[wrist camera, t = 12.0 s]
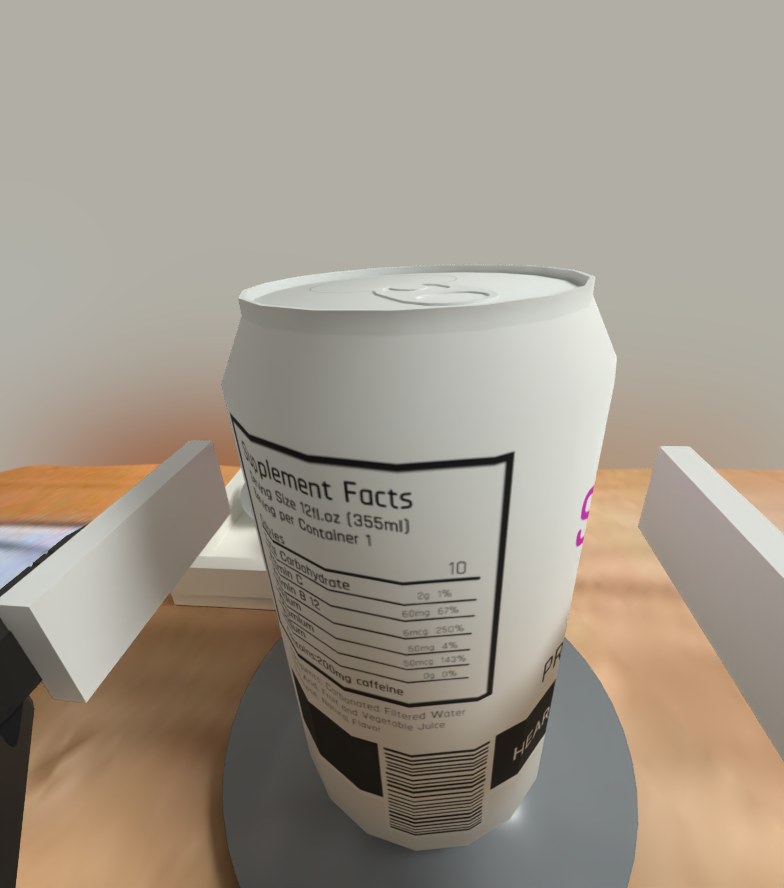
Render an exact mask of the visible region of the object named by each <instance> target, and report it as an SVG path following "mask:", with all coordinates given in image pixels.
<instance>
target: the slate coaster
mask: <svg viewBox="0 0 784 888" xmlns="http://www.w3.org/2000/svg"><path fill="white" fill-rule="evenodd" d="M223 815H224V823H225V830H226V838H227V845H228V849H229V852H230V856H231V860H232V863H233V867H234V870H235V874H236V878H237V881H238V883H239V885H240V887H241V888H627V886H628V882H629V878H630V874H631V870H632V866H633V863H634V858H635V848H636V839H637V829H638V808H637V788H636V782H635V776H634V769H633V763H632V758H631V754H630V751H629V748H628V744H627V741H626V737H625V734H624V730H623V728H622V725H621V723H620V721H619V718H618V716H617V713H616V711H615V709H614V706H613V704H612V702H611V700H610V698H609V697H608V695H607V693H606V691H605V689H604V688H603V686H602V684H601V682H600V680H599V679H598V678H597V676H596V675H595V673H594V672H593V670H592V669H591V668H590V666H589V665H588V663H587V662H586V660H585V659H584V658H583V657H582V656H581V654H580V653H579V652H578V651H577V650H576V649H575V648H574V646H573V645H572V644H571V643H570V642H569V641H568V640H567V639H566V638H565V637H564V641H563V646H562V651H561V656H560V661H559V666H558V671H557V677H556V682H555V687H554V692H553V697H552V702H551V707H550V712H549V717H548V722H547V727H546V733H545V738H544V743H543V748H542V753H541V758H540V763H539V768H538V773H537V778H536V780H535V781H534V783H533V784H532V786H531V787H530V789H529V791H528V792H527V794H526V795H525V797H524V798H523V800H522V802H521V803H520V805H519V806H518V808H517V809H516V811H515V812H514V814H513V816H512V817H511V819H509V820H508V821H506V822H504V823H503V824H501V825H500V826H498V827H496V828H495V829H493V830H492V831H490V832H488V833H487V834H485V835H484V836H482V837H481V838H479V839H477V840H476V841H474V842H473V843H471V844H469V845H468V846H458V847H449V848H439V849H430V850H420V851H415V850H412V849H409V848H406V847H404V846H401V845H398V844H395V843H392V842H389V841H387V840H384V839H381V838H378V837H375V836H373V835H370V834H367V833H366V832H365V831H364V830H363V829H362V828H361V827H359V826H358V825H357V824H356V823H355V822H354V821H353V820H352V819H351V818H350V817H349V816H348V815H347V814H346V813H345V812H344V811H343V810H342V809H341V808H339V807H338V806H337V805H336V804H335V803H334V802H333V801H332V800H331V799H330V797H329V795H328V793H327V791H326V788H325V786H324V784H323V782H322V780H321V777H320V775H319V773H318V771H317V769H316V766H315V764H314V762H313V760H312V758H311V755H310V751H309V747H308V743H307V738H306V734H305V730H304V726H303V722H302V718H301V713H300V709H299V705H298V701H297V697H296V693H295V689H294V684H293V680H292V676H291V672H290V668H289V664H288V660H287V655H286V651H285V647H284V643H283V639H282V637H281V638H280V639H279V640H278V642H277V643H276V644H275V645H274V647H273V648H272V649H271V650H270V652H269V653H268V654H267V655H266V657H265V658H264V660H263V661H262V663H261V664H260V666H259V667H258V669H257V671H256V672H255V674H254V675H253V677H252V679H251V681H250V683H249V685H248V687H247V689H246V691H245V693H244V695H243V697H242V699H241V702H240V705H239V707H238V710H237V713H236V716H235V719H234V721H233V724H232V728H231V733H230V737H229V741H228V745H227V750H226V757H225V766H224V774H223Z"/></svg>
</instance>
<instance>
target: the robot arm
mask: <svg viewBox="0 0 784 888" xmlns="http://www.w3.org/2000/svg"><path fill="white" fill-rule="evenodd" d="M230 514H231V508H230V504H229V501H228V497H227V493H226V489H225V485H224V482H223V478H222V474H221V470H220V467H219V463H218V459H217V455H216V452H215V448H214V444H213V441H208V440H203V441H202V440H200V441H199V440H190V441H189V442H187V443H186V444H185V445H184V446H183V447H181V448H180V449H179V450H178V451H176V452H175V453H174V454H173V455H172V456H170V457H169V458H168V459H167V460H166V461H165V462H163V463H162V464H161V465H159V466H158V467H157V468H156V469H155V470H153V471H152V472H151V473H150V474H149V475H147V476H146V477H145V478H144V479H143V480H141V481H140V482H139V483H138V484H137V485H135V486H134V487H133V488H132V489H130V490H129V491H128V492H127V493H126V494H124V495H123V496H122V497H121V498H120V499H118V500H117V501H116V502H115V503H114V504H112V505H111V506H110V507H109V508H107V509H106V510H105V511H104V512H103V513H101V514H100V515H99V516H98V517H97V518H95V519H94V520H93V521H92V522H91V523H89V524H87V525H86V526H84V527H82V528H80V529H78V530H76V531H75V532H73V533H71V534H69V535H67V536H66V537H64V538H63V539H62V540H61V541H60V542H58V543H57V544H56V545H55V546H53V547H52V548H51V549H50V550H48V553H47V554H43V555H42V556H41V557H40V558H39V559H37V560H36V561H35V562H34V563H33V565H32V567H27V568H26V569H25V570H24V571H22V572H21V573H20V574H19V575H18V576H16V577H15V578H14V579H13V580H11V581H10V582H9V583H8V584H6V585H5V586H4V587H3V588H1V589H0V888H15V887H16V877H17V868H18V858H19V849H20V839H21V830H22V820H23V811H24V801H25V792H26V782H27V773H28V763H29V754H30V744H31V735H32V725H33V716H34V705H33V701H32V699H31V698H30V696H29V694H30V693H31V692H32V691H33V690H34V689H35V688H36V687H37V686H38V684H39V683H40V682H41V681H42V682H43V684H44V685H45V687H46V689H47V690H48V692H49V693H50V695H51V696H52V698H53V699H55V700H65V701H75V702H84V703H87V701H88V700H89V699H90V697H91V696H92V695H93V693H94V692H95V691H96V689H97V688H98V687H99V686H100V684H101V683H102V682H103V680H104V679H105V678H106V676H107V675H108V674H109V672H110V671H111V670H112V668H113V667H114V666H115V665H116V663H117V662H118V661H119V659H120V658H121V657H122V655H123V654H124V653H125V651H126V650H127V649H128V647H129V646H130V645H131V644H132V642H133V641H134V640H135V638H136V637H137V636H138V634H139V633H140V632H141V630H142V629H143V628H144V626H145V625H146V624H147V623H148V621H149V620H150V619H151V617H152V616H153V615H154V613H155V612H156V611H157V609H158V608H159V607H160V605H161V604H162V603H163V602H164V600H165V599H166V598H167V596H168V595H169V594H170V592H171V591H172V590H173V588H174V587H175V586H176V584H177V583H178V582H179V581H180V579H181V578H182V577H183V575H184V574H185V573H186V571H187V570H188V569H189V567H190V566H191V565H192V563H193V562H194V561H195V560H196V558H197V557H198V556H199V554H200V553H201V552H202V550H203V549H204V548H205V546H206V545H207V544H208V542H209V541H210V540H211V539H212V537H213V536H214V535H215V533H216V532H217V531H218V529H219V528H220V527H221V525H222V524H223V523H224V522H225V520H226V519H227V518H228V516H229V515H230ZM638 527H639V529H640V531H641V532H642V534H643V535H644V537H645V539H646V540H647V542H648V543H649V545H650V547H651V548H652V550H653V552H654V553H655V555H656V556H657V558H658V560H659V561H660V563H661V564H662V566H663V568H664V569H665V571H666V573H667V574H668V576H669V577H670V579H671V581H672V582H673V584H674V585H675V587H676V589H677V590H678V592H679V594H680V595H681V597H682V598H683V600H684V602H685V603H686V605H687V606H688V608H689V610H690V611H691V613H692V614H693V616H694V618H695V619H696V621H697V623H698V624H699V626H700V627H701V629H702V631H703V632H704V634H705V635H706V637H707V639H708V640H709V642H710V644H711V645H712V647H713V648H714V650H715V652H716V653H717V655H718V656H719V658H720V660H721V661H722V663H723V665H724V666H725V668H726V669H727V671H728V673H729V674H730V676H731V677H732V679H733V681H734V682H735V684H736V685H737V687H738V689H739V690H740V692H741V694H742V695H743V697H744V698H745V700H746V702H747V703H748V705H749V706H750V708H751V710H752V711H753V713H754V715H755V716H756V718H757V719H758V721H759V723H760V724H761V726H762V727H763V729H764V731H765V732H766V734H767V736H768V737H769V739H770V740H771V742H772V744H773V745H774V747H775V748H776V750H777V752H778V753H779V755H780V756H781V758H782V760H783V761H784V534H783V533H782V532H781V531H780V530H779V529H778V528H777V527H775V526H774V525H773V524H772V523H771V522H770V521H769V520H768V519H767V518H766V517H765V516H764V515H763V514H761V513H760V512H759V511H758V510H757V509H756V508H755V507H754V506H753V505H752V504H751V503H750V502H749V501H747V500H746V499H745V498H744V497H743V496H742V495H741V494H740V493H739V492H738V491H737V490H736V489H735V488H734V487H732V486H731V485H730V484H729V483H728V482H727V481H726V480H725V479H724V478H723V477H722V476H721V475H720V474H718V473H717V472H716V471H715V470H714V469H713V468H712V467H711V466H710V465H709V464H708V463H706V461H704V460H703V459H702V458H701V457H700V456H699V455H698V454H697V453H696V452H695V451H694V450H693V449H692V448H691V447H687V446H659V449H658V453H657V457H656V460H655V464H654V468H653V472H652V476H651V479H650V483H649V487H648V491H647V495H646V498H645V502H644V506H643V510H642V513H641V517H640V521H639V525H638Z"/></svg>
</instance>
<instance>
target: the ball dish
mask: <svg viewBox="0 0 784 888" xmlns="http://www.w3.org/2000/svg"><path fill="white" fill-rule="evenodd" d="M244 483H245V481H244V477H243V473H242V469H240V470H239V471H238V473H237V474H236V475H235V476H234V477H233V479H232V480H231V481H230V482H229V483H228V485H227V486H226V487H225V489H226V493H227V497H228V501H229V504H230V508H231V514H230V515H229V516H228V518H227V519H226V520H225V522H224V523H223V524H222V525H221V527H220V528H219V529H218V531H217V532H216V533H215V535H214V536H213V537H212V539H211V540H210V541H209V542H208V544H207V545H206V546H205V548H204V549H203V550H202V552H201V553H200V554H199V556H198V557H197V558H196V560H195V561H194V562H193V563H192V565H191V566H190V567H189V569H188V570H187V571H186V573H185V574H184V575H183V577H182V578H181V579H180V581H179V582H178V583H177V584H176V586H175V587H174V588H173V590H172V591H171V592H170V594H171V596H172V599H173V601H174V604H175V605H193V606H212V607H230V608H248V609H267V610H275V606H274V601H273V597H272V593H271V589H270V585H269V581H268V577H267V572H266V568H265V564H264V560H263V556H262V552H261V548H260V543H259V539H258V535H257V531H256V527H255V523H254V519H253V518H251V517H250V516H249V515H248V514H247V513H246V512H245V510H244V509H243V507H242V504H241V490H242V487H243V485H244Z"/></svg>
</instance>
